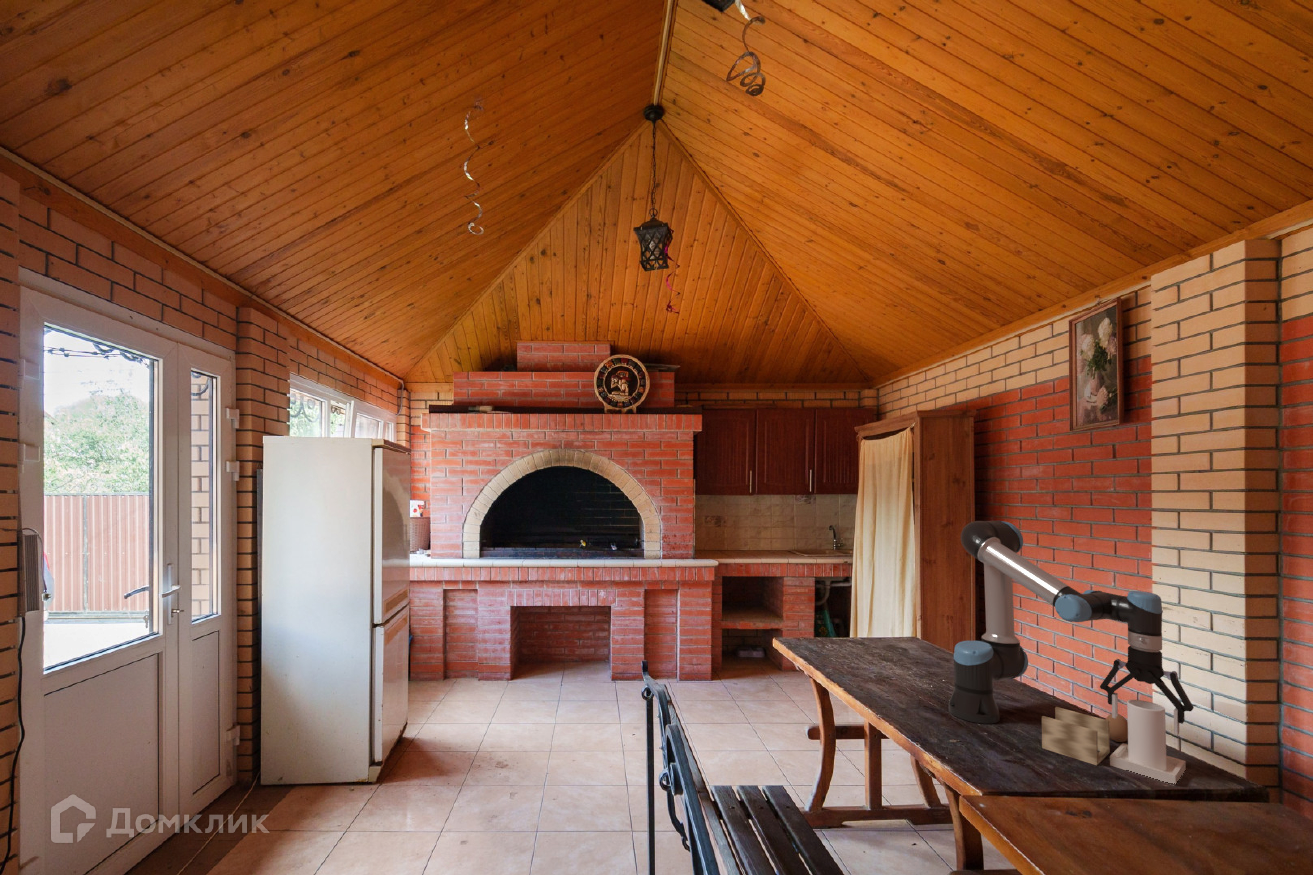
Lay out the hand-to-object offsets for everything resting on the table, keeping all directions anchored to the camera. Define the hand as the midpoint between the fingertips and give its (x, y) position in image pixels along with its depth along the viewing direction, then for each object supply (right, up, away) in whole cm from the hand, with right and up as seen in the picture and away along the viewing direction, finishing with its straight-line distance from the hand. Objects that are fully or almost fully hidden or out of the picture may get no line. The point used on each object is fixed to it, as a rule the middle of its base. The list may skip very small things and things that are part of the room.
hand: (1144, 725), depth 167 cm
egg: (+5, -13, +16) cm, 21 cm away
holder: (-13, -12, +9) cm, 20 cm away
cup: (0, -10, -1) cm, 10 cm away
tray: (0, -11, -1) cm, 11 cm away
